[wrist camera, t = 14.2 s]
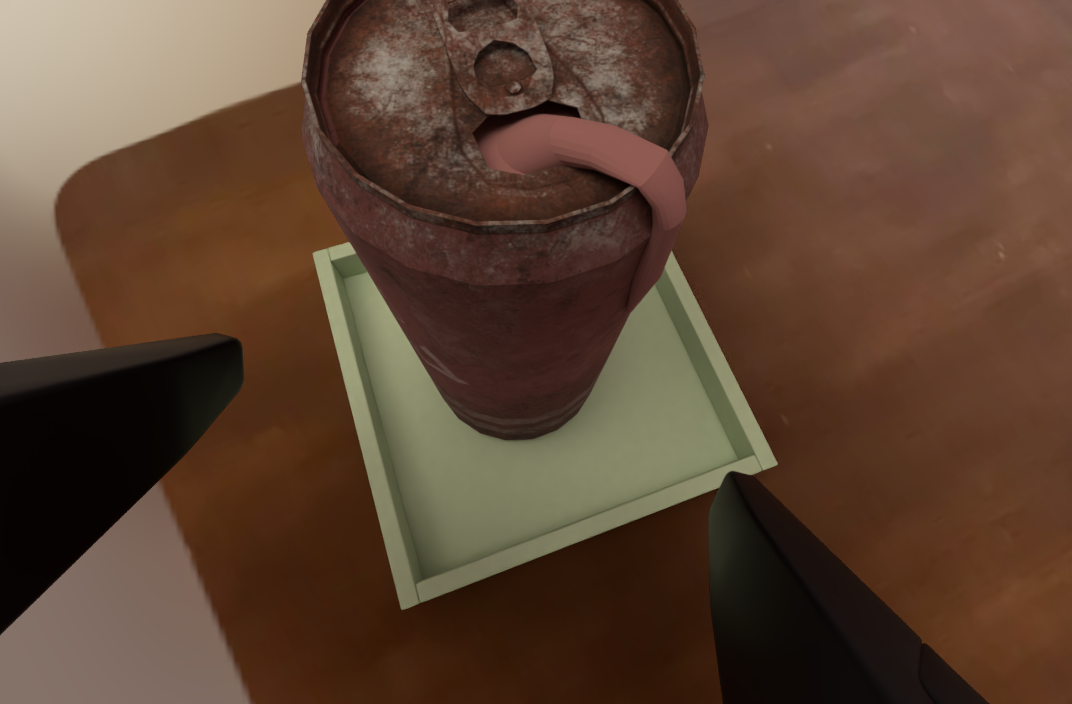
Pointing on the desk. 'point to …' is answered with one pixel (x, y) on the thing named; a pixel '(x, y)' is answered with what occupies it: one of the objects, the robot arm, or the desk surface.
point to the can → (507, 181)
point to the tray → (535, 464)
